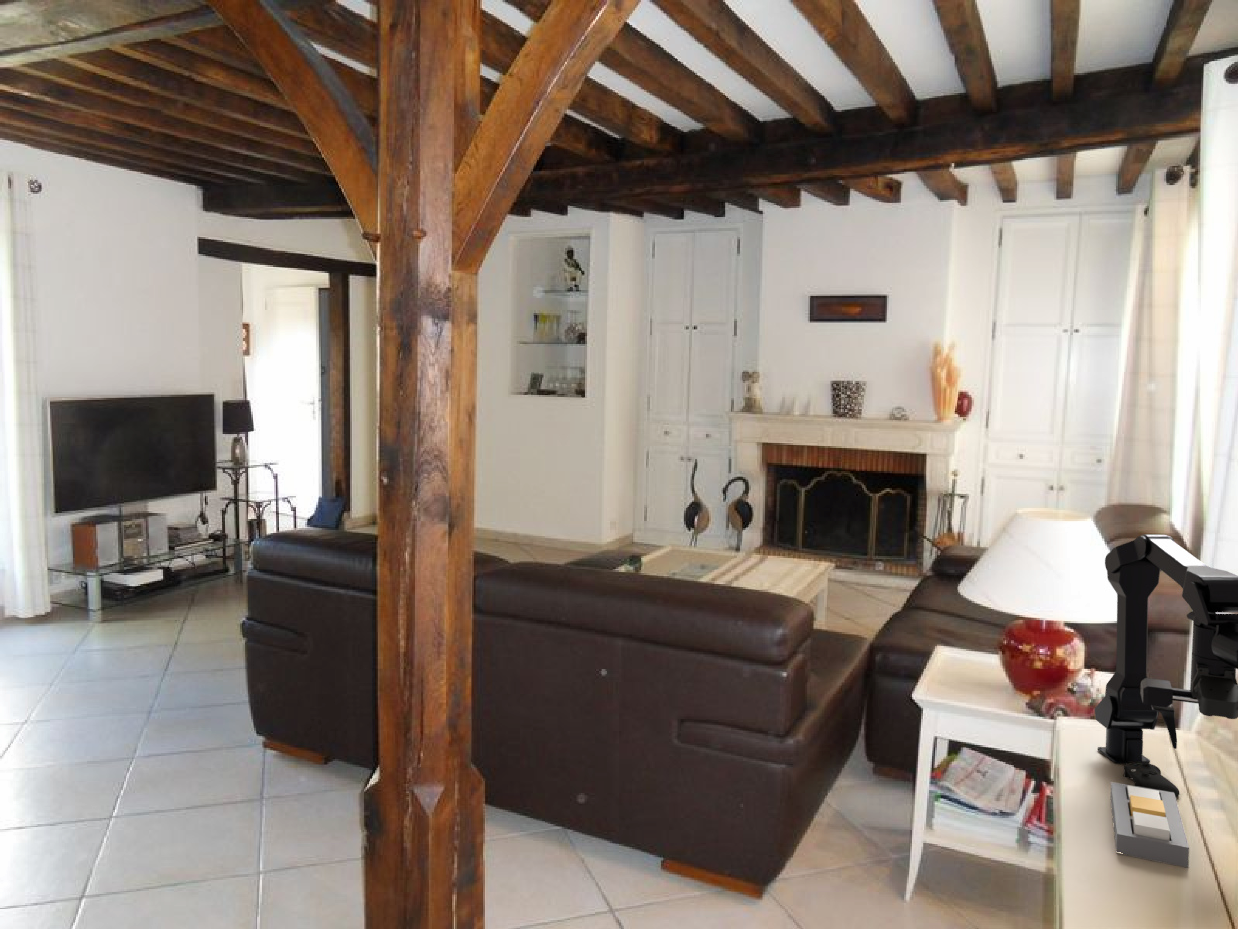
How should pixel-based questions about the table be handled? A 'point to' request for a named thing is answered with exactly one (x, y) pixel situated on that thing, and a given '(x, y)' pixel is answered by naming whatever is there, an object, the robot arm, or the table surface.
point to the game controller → (1149, 777)
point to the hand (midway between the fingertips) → (1209, 753)
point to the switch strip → (1142, 845)
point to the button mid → (1146, 806)
